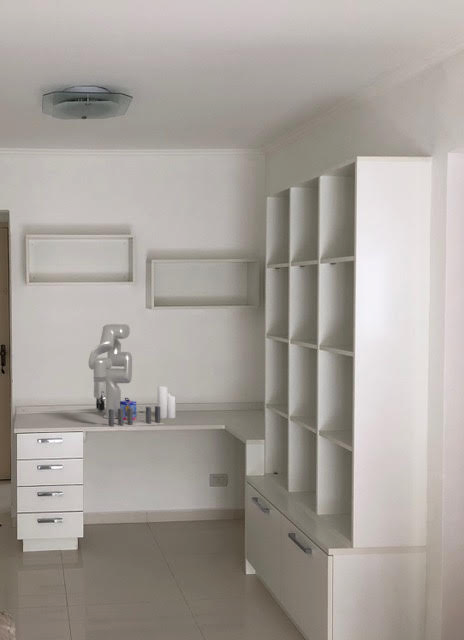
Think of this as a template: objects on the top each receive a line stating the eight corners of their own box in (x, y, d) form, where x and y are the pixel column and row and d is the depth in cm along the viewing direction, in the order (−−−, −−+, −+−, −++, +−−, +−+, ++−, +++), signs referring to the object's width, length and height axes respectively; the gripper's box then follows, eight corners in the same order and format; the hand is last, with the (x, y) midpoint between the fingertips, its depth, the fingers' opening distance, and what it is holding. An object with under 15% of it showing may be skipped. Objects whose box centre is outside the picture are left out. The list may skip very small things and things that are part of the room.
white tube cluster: (157, 418, 605) (157, 387, 604) (157, 417, 612) (157, 386, 611) (175, 418, 606) (175, 387, 605) (175, 416, 613) (175, 386, 612)
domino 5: (148, 423, 579) (148, 407, 579) (145, 422, 584) (145, 406, 584) (151, 423, 580) (151, 407, 580) (148, 422, 585) (148, 406, 584)
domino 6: (157, 423, 582) (157, 407, 582) (154, 422, 587) (154, 406, 586) (160, 423, 583) (160, 406, 582) (157, 422, 587) (157, 406, 587)
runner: (104, 425, 576) (104, 424, 576) (157, 421, 591) (157, 421, 591) (110, 428, 565) (110, 427, 565) (165, 424, 580) (165, 423, 580)
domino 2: (111, 426, 569) (111, 410, 569) (108, 425, 573) (108, 409, 573) (113, 426, 570) (113, 409, 569) (111, 425, 574) (111, 408, 574)
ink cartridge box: (119, 420, 598) (119, 397, 598) (125, 419, 603) (125, 396, 602) (130, 421, 592) (130, 398, 592) (136, 420, 596) (136, 397, 596)
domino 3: (120, 425, 572) (120, 409, 571) (118, 424, 576) (117, 408, 576) (123, 425, 572) (123, 409, 572) (120, 424, 577) (120, 408, 576)
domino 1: (100, 412, 573) (100, 396, 572) (98, 411, 577) (97, 395, 577) (103, 412, 574) (102, 396, 573) (100, 411, 578) (100, 395, 577)
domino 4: (130, 425, 574) (130, 408, 574) (127, 424, 579) (127, 407, 578) (132, 425, 575) (132, 408, 575) (129, 424, 579) (129, 407, 579)
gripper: (89, 378, 580) (90, 407, 581) (98, 381, 565) (98, 412, 566) (101, 377, 583) (102, 406, 585) (110, 380, 568) (110, 410, 569)
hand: (100, 408), depth 575 cm, fingers closed on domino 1, 4 cm apart
